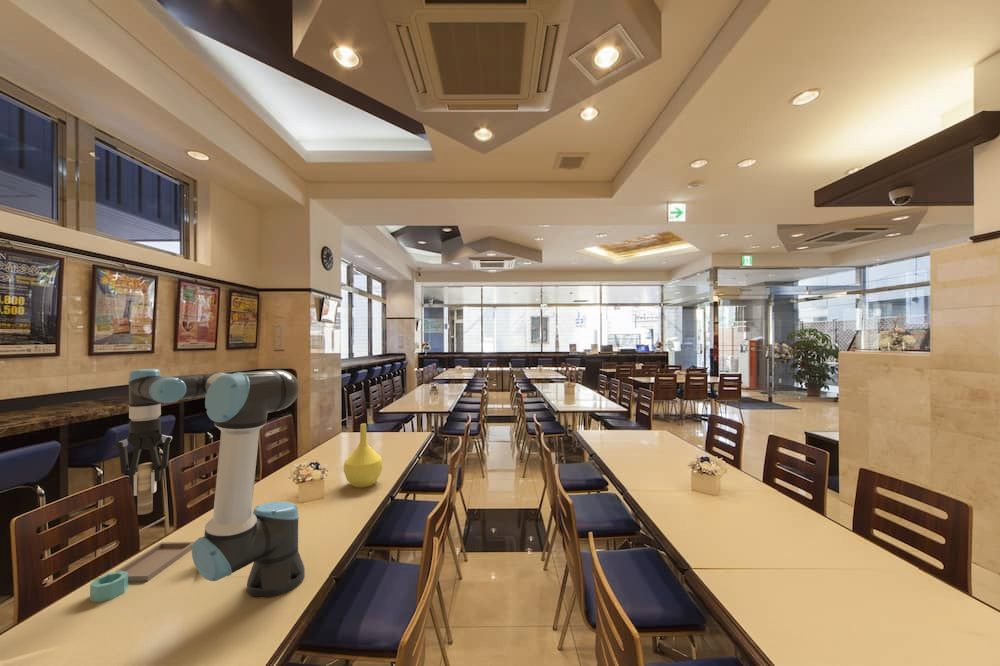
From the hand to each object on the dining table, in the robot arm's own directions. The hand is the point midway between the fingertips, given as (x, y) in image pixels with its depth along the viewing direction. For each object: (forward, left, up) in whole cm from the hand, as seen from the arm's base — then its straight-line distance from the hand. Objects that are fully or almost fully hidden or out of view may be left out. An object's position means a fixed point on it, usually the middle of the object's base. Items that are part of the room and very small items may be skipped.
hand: (145, 492), depth 127 cm
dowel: (0, 0, -6) cm, 6 cm away
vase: (+45, -73, -25) cm, 89 cm away
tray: (+3, -2, -25) cm, 25 cm away
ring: (-11, +5, -25) cm, 27 cm away
